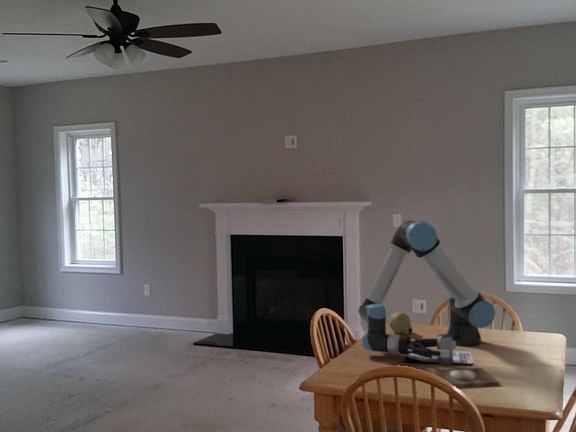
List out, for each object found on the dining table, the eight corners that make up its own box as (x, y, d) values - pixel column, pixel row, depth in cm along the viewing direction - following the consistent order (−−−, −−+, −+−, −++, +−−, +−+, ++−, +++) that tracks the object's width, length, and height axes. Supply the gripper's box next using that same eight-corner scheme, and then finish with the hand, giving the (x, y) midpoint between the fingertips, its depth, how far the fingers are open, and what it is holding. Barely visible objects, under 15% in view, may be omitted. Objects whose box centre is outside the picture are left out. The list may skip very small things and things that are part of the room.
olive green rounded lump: (402, 343, 264) (419, 328, 262) (385, 325, 264) (401, 310, 262) (399, 337, 273) (415, 323, 272) (383, 320, 273) (399, 305, 272)
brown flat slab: (480, 371, 209) (480, 365, 209) (499, 385, 193) (499, 379, 193) (429, 373, 208) (429, 368, 208) (443, 388, 192) (443, 382, 192)
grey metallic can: (449, 361, 223) (449, 333, 222) (455, 365, 217) (454, 336, 216) (435, 361, 222) (434, 333, 222) (440, 366, 216) (439, 337, 216)
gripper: (407, 345, 239) (458, 350, 229) (391, 361, 217) (446, 368, 207) (407, 328, 238) (458, 332, 229) (391, 343, 216) (446, 348, 207)
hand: (452, 349), depth 218 cm, fingers open, 13 cm apart
